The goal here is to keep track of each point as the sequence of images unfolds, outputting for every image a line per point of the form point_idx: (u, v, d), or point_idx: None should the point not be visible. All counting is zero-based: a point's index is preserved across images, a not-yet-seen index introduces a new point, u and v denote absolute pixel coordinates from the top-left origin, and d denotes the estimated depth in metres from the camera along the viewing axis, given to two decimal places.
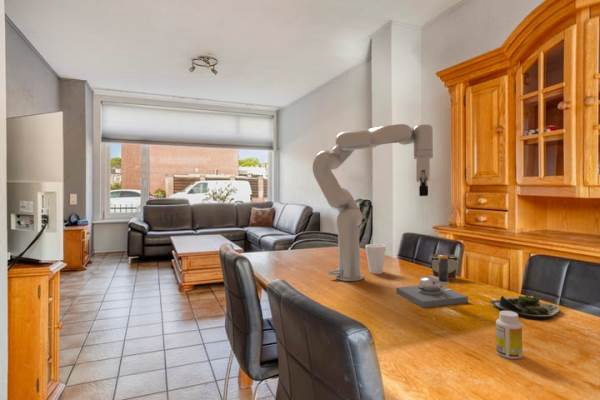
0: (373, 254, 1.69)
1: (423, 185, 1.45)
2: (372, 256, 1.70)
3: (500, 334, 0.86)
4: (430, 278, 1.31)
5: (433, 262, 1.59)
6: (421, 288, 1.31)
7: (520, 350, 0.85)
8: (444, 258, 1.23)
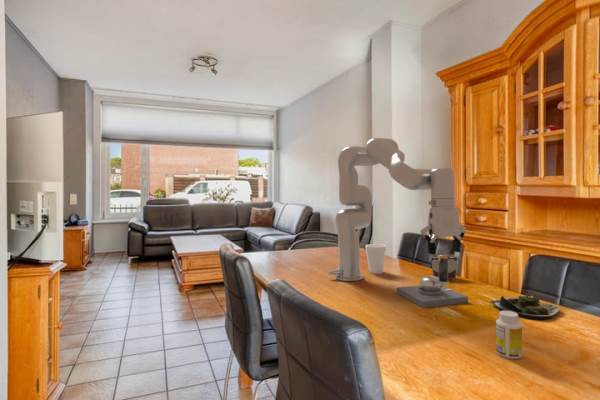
0: (373, 253, 1.69)
1: None
2: (372, 256, 1.70)
3: (500, 334, 0.86)
4: (430, 278, 1.31)
5: (433, 262, 1.59)
6: (421, 288, 1.31)
7: (520, 350, 0.85)
8: (444, 258, 1.23)
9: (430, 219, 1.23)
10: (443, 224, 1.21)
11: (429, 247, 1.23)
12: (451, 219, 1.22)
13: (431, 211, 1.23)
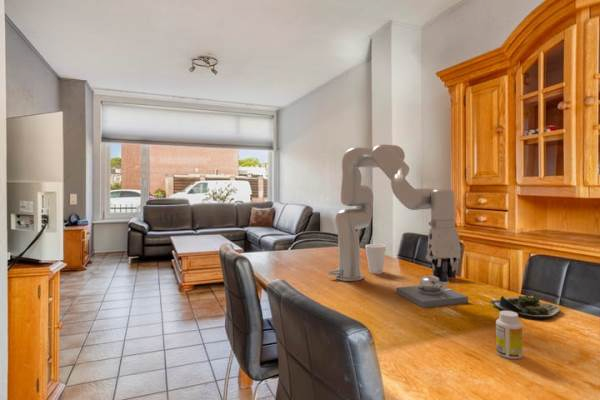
0: (373, 254, 1.69)
1: None
2: (372, 256, 1.70)
3: (500, 334, 0.86)
4: (430, 278, 1.31)
5: None
6: (421, 288, 1.31)
7: (520, 350, 0.85)
8: (444, 258, 1.23)
9: (430, 240, 1.24)
10: (443, 245, 1.21)
11: (436, 271, 1.24)
12: (451, 240, 1.22)
13: (431, 232, 1.23)
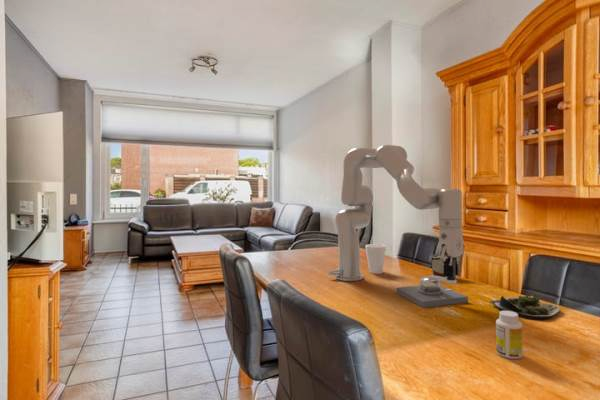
0: (373, 254, 1.69)
1: None
2: (372, 256, 1.70)
3: (500, 335, 0.86)
4: (433, 278, 1.31)
5: (433, 262, 1.59)
6: (425, 289, 1.30)
7: (520, 350, 0.85)
8: None
9: (443, 240, 1.23)
10: (455, 244, 1.23)
11: (447, 270, 1.25)
12: (459, 239, 1.25)
13: (444, 232, 1.23)
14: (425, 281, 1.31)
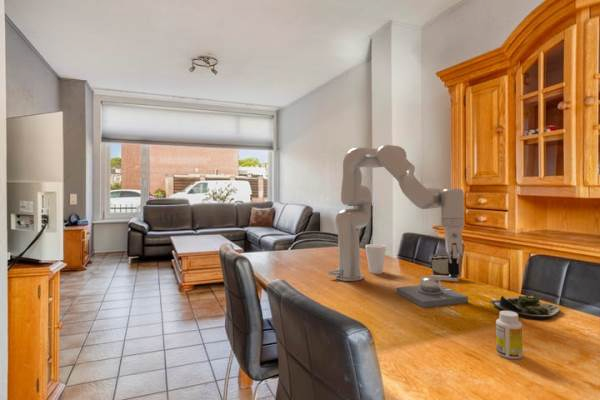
0: (373, 253, 1.69)
1: None
2: (372, 256, 1.70)
3: (500, 334, 0.86)
4: (435, 278, 1.31)
5: (433, 262, 1.59)
6: (431, 290, 1.29)
7: (520, 350, 0.85)
8: None
9: (453, 239, 1.25)
10: None
11: (454, 268, 1.27)
12: None
13: (454, 231, 1.25)
14: (430, 282, 1.30)
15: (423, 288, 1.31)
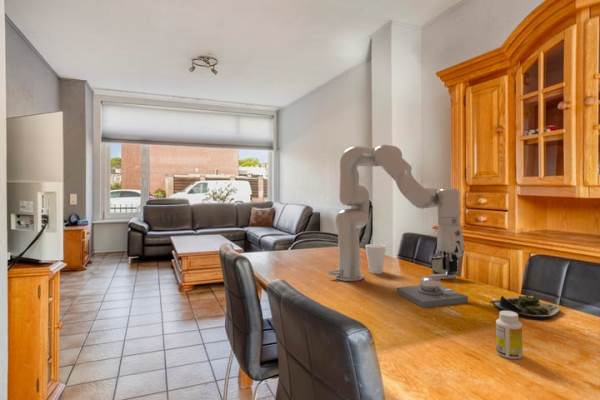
0: (373, 253, 1.69)
1: None
2: (372, 256, 1.70)
3: (500, 335, 0.86)
4: (435, 277, 1.32)
5: (433, 262, 1.59)
6: None
7: (520, 350, 0.85)
8: None
9: (457, 237, 1.29)
10: None
11: (455, 265, 1.31)
12: None
13: (457, 229, 1.29)
14: (435, 282, 1.29)
15: (428, 289, 1.30)
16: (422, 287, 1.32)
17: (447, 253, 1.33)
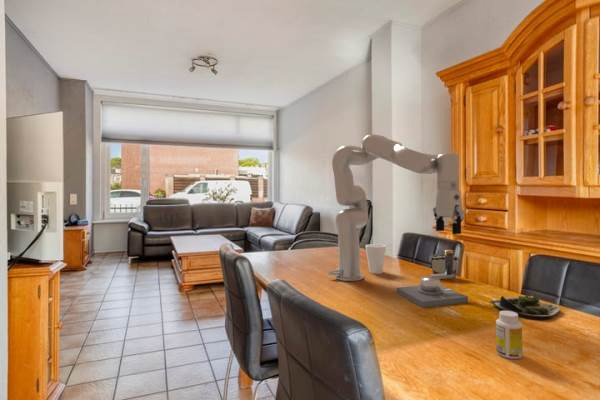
0: (373, 253, 1.69)
1: None
2: (372, 256, 1.70)
3: (500, 334, 0.86)
4: (435, 277, 1.32)
5: (433, 262, 1.59)
6: None
7: (520, 350, 0.85)
8: None
9: (456, 201, 1.29)
10: None
11: (458, 227, 1.28)
12: None
13: (456, 193, 1.29)
14: (435, 281, 1.30)
15: (428, 289, 1.30)
16: (422, 287, 1.32)
17: (446, 253, 1.33)
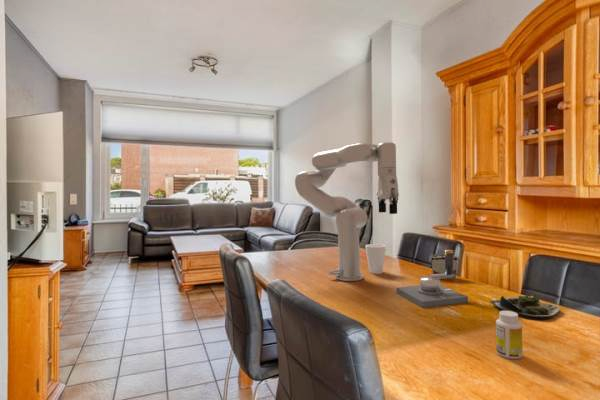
0: (373, 254, 1.69)
1: None
2: (372, 256, 1.70)
3: (500, 334, 0.86)
4: (435, 277, 1.32)
5: (433, 262, 1.59)
6: None
7: (520, 350, 0.85)
8: None
9: (392, 184, 1.46)
10: None
11: (394, 208, 1.45)
12: None
13: (392, 178, 1.46)
14: (435, 281, 1.30)
15: (428, 289, 1.30)
16: (422, 287, 1.32)
17: (446, 253, 1.33)
